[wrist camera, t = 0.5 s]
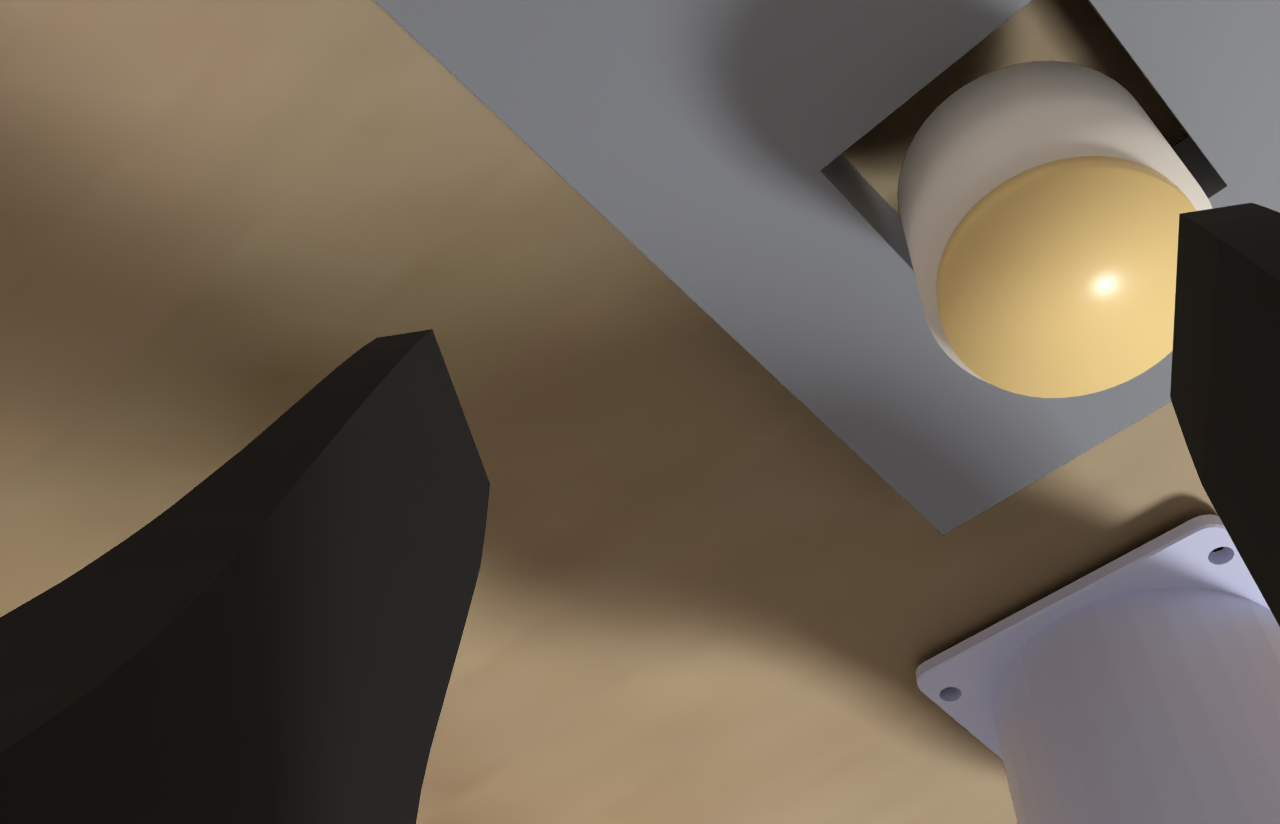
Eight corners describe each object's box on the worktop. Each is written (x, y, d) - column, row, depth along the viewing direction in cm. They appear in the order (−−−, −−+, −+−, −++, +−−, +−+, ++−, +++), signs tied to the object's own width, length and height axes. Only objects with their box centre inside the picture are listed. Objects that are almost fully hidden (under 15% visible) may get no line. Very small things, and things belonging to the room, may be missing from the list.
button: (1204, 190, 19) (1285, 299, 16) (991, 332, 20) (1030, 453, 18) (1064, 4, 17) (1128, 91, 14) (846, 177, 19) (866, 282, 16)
